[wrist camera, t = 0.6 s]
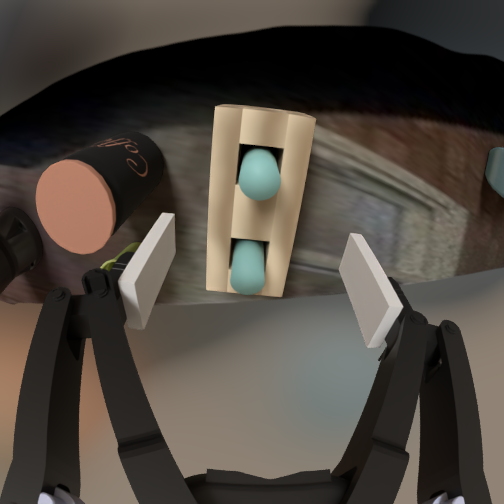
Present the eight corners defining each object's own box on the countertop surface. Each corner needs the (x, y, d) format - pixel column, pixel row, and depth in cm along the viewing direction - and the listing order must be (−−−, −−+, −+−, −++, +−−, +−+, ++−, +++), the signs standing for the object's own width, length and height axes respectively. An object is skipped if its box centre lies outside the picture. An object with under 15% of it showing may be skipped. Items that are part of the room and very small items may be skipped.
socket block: (213, 256, 48) (206, 289, 41) (224, 104, 35) (215, 106, 27) (278, 262, 49) (281, 297, 41) (303, 113, 36) (315, 118, 28)
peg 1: (241, 175, 34) (236, 198, 27) (244, 144, 32) (240, 158, 25) (273, 178, 34) (277, 202, 28) (277, 148, 32) (283, 163, 25)
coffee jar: (178, 153, 39) (129, 196, 24) (145, 206, 43) (95, 271, 28) (123, 117, 36) (49, 142, 20) (95, 173, 40) (28, 222, 25)
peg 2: (233, 256, 40) (229, 293, 34) (235, 232, 38) (231, 265, 32) (261, 259, 41) (262, 296, 34) (265, 235, 39) (266, 269, 32)
